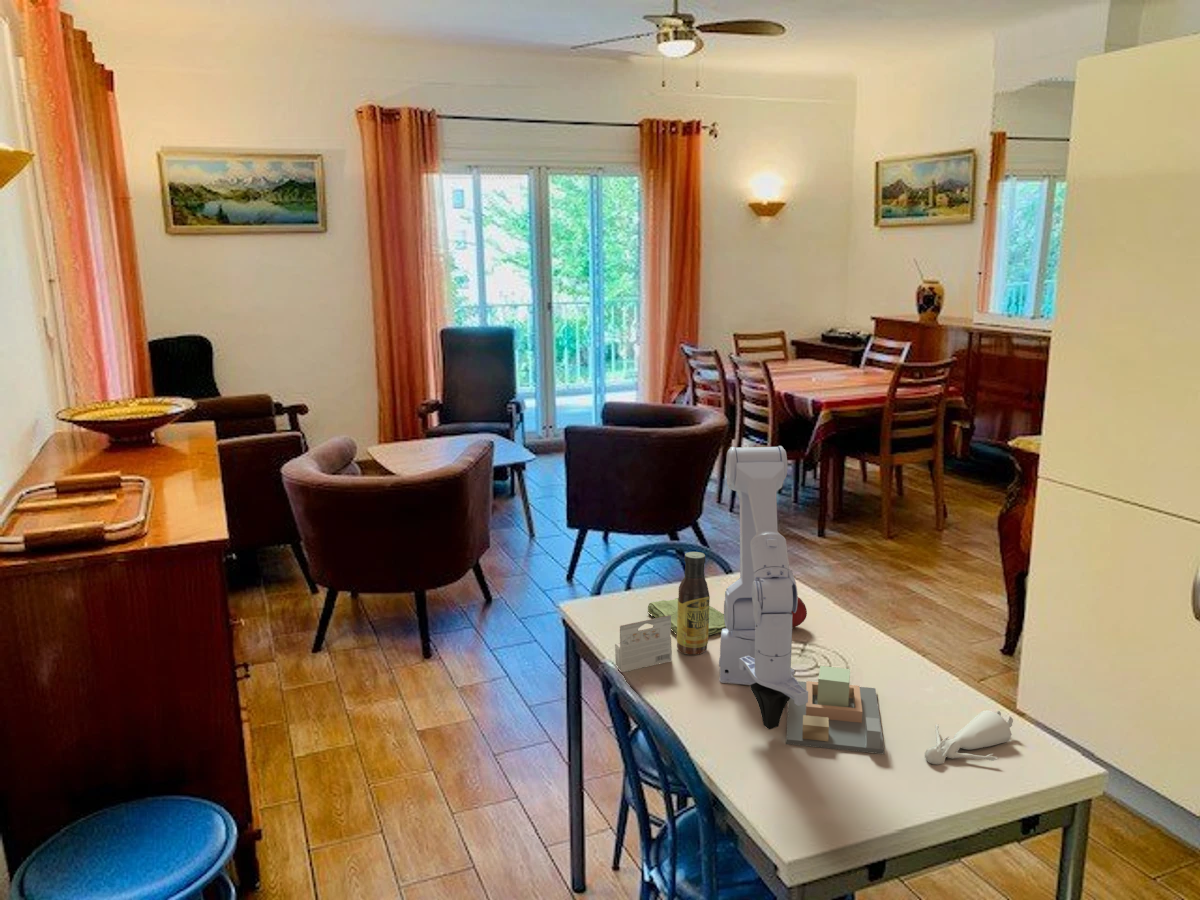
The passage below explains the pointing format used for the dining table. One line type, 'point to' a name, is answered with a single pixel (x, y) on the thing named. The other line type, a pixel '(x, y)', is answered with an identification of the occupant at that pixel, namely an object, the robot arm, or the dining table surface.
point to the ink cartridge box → (644, 644)
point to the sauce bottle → (693, 607)
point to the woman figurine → (972, 738)
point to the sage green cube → (833, 686)
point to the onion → (799, 614)
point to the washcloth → (671, 608)
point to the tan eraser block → (815, 728)
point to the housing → (839, 721)
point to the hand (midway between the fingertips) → (771, 726)
